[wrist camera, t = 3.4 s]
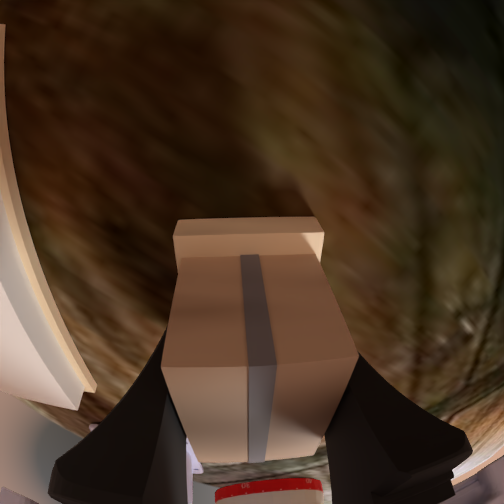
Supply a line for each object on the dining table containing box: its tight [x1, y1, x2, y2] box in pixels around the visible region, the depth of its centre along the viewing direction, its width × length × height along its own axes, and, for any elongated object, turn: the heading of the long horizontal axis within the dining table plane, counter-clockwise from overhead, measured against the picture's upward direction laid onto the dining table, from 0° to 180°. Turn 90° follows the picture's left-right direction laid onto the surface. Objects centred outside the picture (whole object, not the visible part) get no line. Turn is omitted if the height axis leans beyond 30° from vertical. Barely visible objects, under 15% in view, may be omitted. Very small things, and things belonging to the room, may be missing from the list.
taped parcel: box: [161, 217, 359, 463], centre depth 10 cm, size 8×5×6 cm, turn 179°
